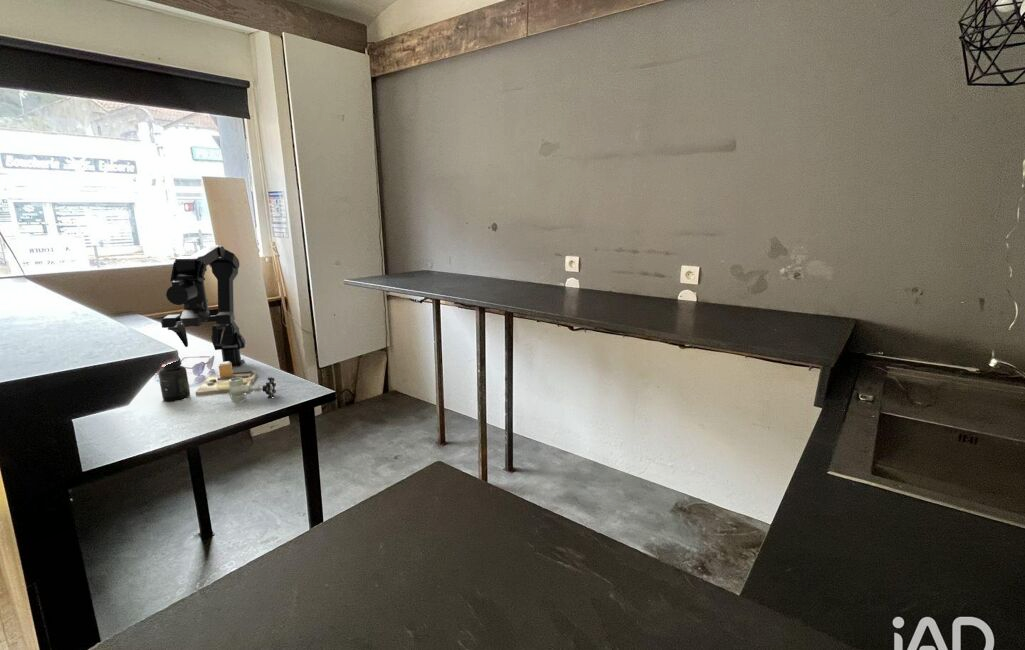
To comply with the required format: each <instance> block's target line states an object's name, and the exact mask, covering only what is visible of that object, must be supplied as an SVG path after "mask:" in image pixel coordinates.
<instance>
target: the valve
mask: <svg viewBox="0 0 1025 650" xmlns="http://www.w3.org/2000/svg"><path fill="white" fill-rule="evenodd" d="M229 385H230V387H229V393H228V394H229V395H230V397H231V401H232V403H240V401H241V402H243V401H245V400H246V395H251V394H252V393H253V392H255V393H257V392H259V393H260V392H261V391H263V392H264V393H265V394H266V395H267V399H273V398H272V397H274V398H275V394H277V390H276V386H277V383H276V382H275V377H270V376H269V377H267V382H265V384H263V385H262V386H261V385H254V386H253V385H251V384H246V385H243V379H242V378H241V377H236V378H232V379H230V380H229ZM244 399H245V400H244ZM242 400H243V401H242Z"/></svg>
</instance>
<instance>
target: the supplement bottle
mask: <svg viewBox="0 0 1025 650" xmlns="http://www.w3.org/2000/svg"><path fill="white" fill-rule="evenodd" d="M178 358H179V360H178V361H176V362H173V363H171V364H168V365H166V366H165V367H164V368H163V369H162V368H161V369H160V370H161V371H160V370H159V371H160V372H159V371H158V373H157V374H158V380H159V385H160V391H161V397H162V400H163V401H165V402H169V403H170V402H172V403H174V402H179V401H183V400H185V399H188V398H189V397H190V396H191V390H190V384H189V378H188V373H187V368H186V367H185V366H184V365H182V362H181V361H182V360H181V358H180V357H178Z"/></svg>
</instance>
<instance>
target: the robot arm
mask: <svg viewBox="0 0 1025 650" xmlns="http://www.w3.org/2000/svg"><path fill="white" fill-rule="evenodd" d="M207 266H209V267H210V268H211V273H212V274H213V276H214V277H215V279H216V280H217V314H216V315H215V314H214V315H210V313H211V311H210V310H209V306H208V302H209V301H208V298H207V294H206V288H205V281H206V278H205V275H206V272H207V270H208V269H207ZM239 268H240V260H239V259H238V257H237V255H235V253H233V252H231V251H230V250H227V249H225V247H224V246H223V245H220V244H218V245H217V244H209V245H206V246H204V248H203V249H202V248H201V250H199V251H197V252H195V253H194V254H192V255H183V256H177V257H176V258H175V259H174V261H173V264H172V269H171V276H170V280H169V281H170V282H171V286H170V287H168V289H167V290H166V294H165V296H166V299H167V300H168V302H170V303H171V304H173V305H176V306H181V305H183V307H184V308H183V311H182V313H181V314H180V313H179V314H177V313H176V314H167V315H166V316H164V317H163V318H162V319H161V321H160V322H161V323H160V325H161V328H163V329H164V328H165V329H167V330H168V331H172V332H174V333H175V334H176V336H177V337H178V339H180V341H181V343H182V344H183V345H184V347H185V348H187V347H189V341H188V335H187V332H186V328H188V327H200V326H201V325H202V323H206V322H207V323H208V322H215V323H216V324H215V325H212V327H211V333H212V334H211V342H212V346H213V347H214V350H215V351H217V350H218V351H219V350H220V351H221V357H222V362H226V361H230V363H232V368H233V367H241V366H242V365H243V363H244V362H245V359H242V357H241V350H242V349H245V348H246V340H245V337H244V336H243V335H242V334H241V333H240V327H239V326H238V325H237V324H236V322H235V320H236V317H235V313H234V311H235V310H234V308H235V307H234V280H235V279H236V277H237V275H238V274H239ZM240 365H241V366H240Z"/></svg>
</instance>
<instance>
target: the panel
mask: <svg viewBox="0 0 1025 650" xmlns="http://www.w3.org/2000/svg"><path fill="white" fill-rule="evenodd" d="M256 376H257V377H258V372H257V371H253V370H243V371H240V370H239V371H233V375H232V376H231V377H220V374H217V375H216V374H215V375H210V376H208V377H207V379H206V380H205V381H204V382H203V383H202V384H201V385H200V387H198V389H197V390H196V391H195V393H194V394H195V396H196V397H198V396H199V397H200V396H208V395H209V396H211V395H221V394H230V393H229V387H230V385H229V380H230V379H232V378H236V377H241V378H242V379H243V385H246V384H253V383H254V381H255V380H256V378H257V377H256ZM255 377H256V378H255ZM254 379H255V380H254ZM252 382H253V383H252Z"/></svg>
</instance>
